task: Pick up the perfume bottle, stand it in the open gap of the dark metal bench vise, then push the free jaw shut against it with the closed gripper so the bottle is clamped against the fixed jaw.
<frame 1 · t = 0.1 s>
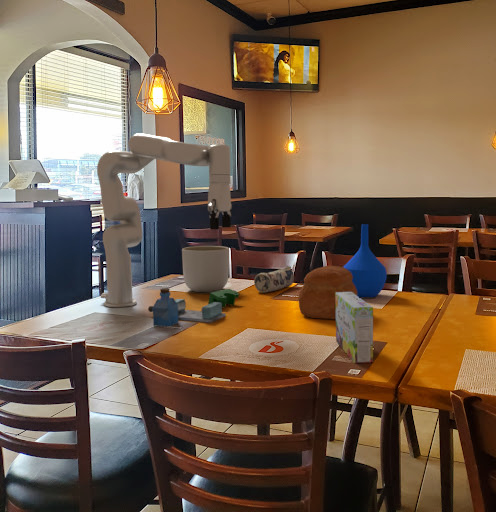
hand: (220, 228, 201), 31 cm above the table, fingers open, 9 cm apart
bread: (328, 314, 203), on the table
perfume bottle: (166, 324, 190), on the table
planter: (206, 290, 251), on the table
clamp: (224, 306, 218), on the table
vase: (363, 296, 235), on the table
vise bed: (193, 317, 199), on the table
free jaw: (166, 306, 203), point 3 cm above the table, slide at 0.0 cm
snack box: (352, 352, 156), on the table
pencil case: (274, 290, 251), on the table
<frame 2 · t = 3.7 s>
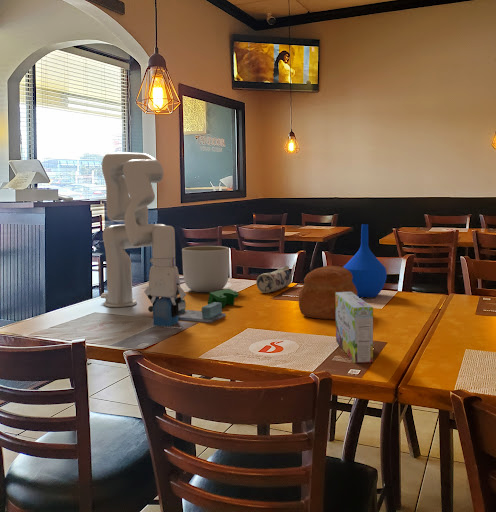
hand: (165, 314, 190), 3 cm above the table, fingers closed on perfume bottle, 6 cm apart
perfume bottle: (165, 324, 190), on the table, touching gripper
when the fingers open (5 cm above the table, at t = 9.6 s): perfume bottle drops 1 cm, resting on vise bed.
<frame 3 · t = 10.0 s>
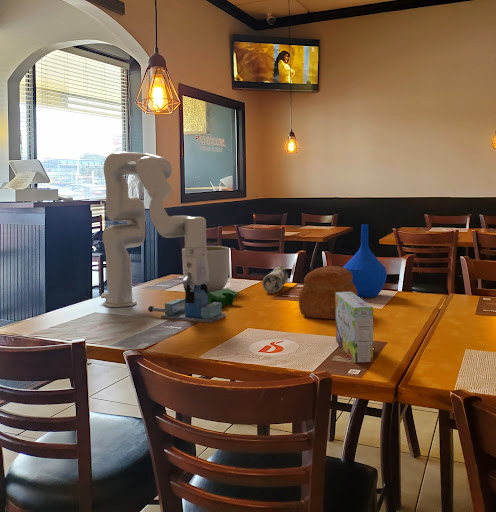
hand: (196, 300, 198), 6 cm above the table, fingers open, 9 cm apart
perfume bottle: (196, 315, 199), point 1 cm above the table, touching vise bed
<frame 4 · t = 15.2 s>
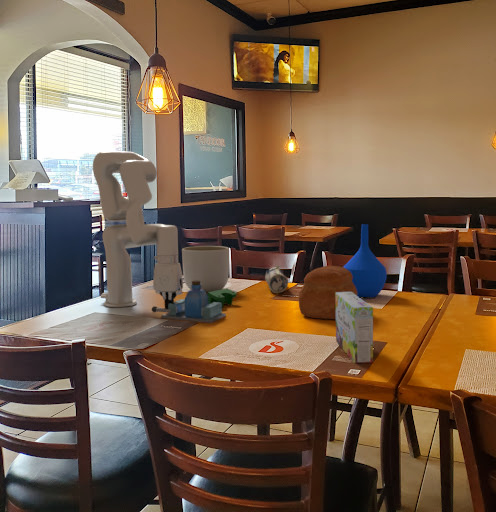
hand: (169, 309, 203), 2 cm above the table, fingers closed
free jaw: (170, 306, 203), point 3 cm above the table, slide at 1.5 cm, touching gripper
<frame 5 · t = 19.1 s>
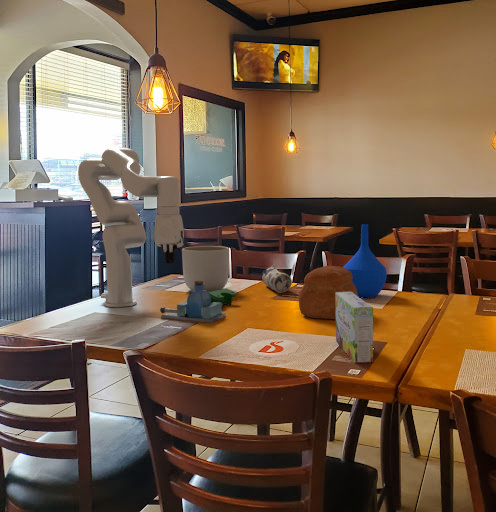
hand: (170, 262, 201), 19 cm above the table, fingers closed
perfume bottle: (199, 315, 198), point 1 cm above the table, touching vise bed
free jaw: (178, 307, 201), point 3 cm above the table, slide at 5.0 cm
at the end: perfume bottle 0.5 cm from the target spot on the vise bed, point 0.8 cm above the vise bed's base; perfume bottle tilted 0°; free jaw slide at 5.0 cm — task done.
